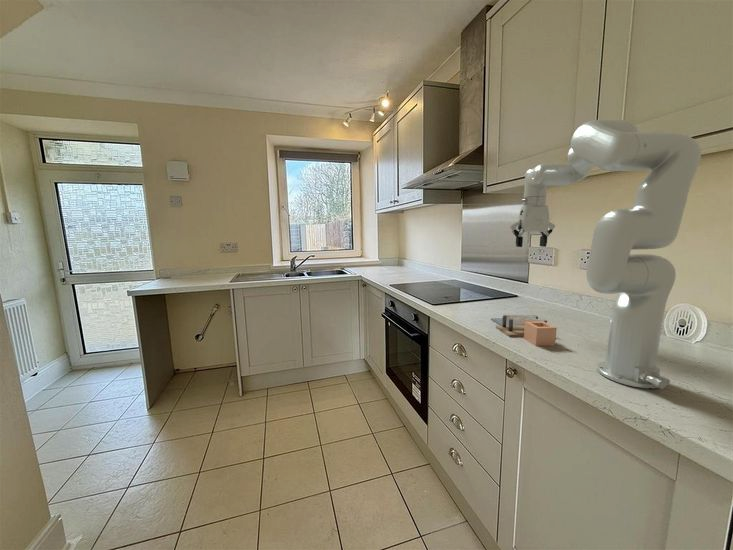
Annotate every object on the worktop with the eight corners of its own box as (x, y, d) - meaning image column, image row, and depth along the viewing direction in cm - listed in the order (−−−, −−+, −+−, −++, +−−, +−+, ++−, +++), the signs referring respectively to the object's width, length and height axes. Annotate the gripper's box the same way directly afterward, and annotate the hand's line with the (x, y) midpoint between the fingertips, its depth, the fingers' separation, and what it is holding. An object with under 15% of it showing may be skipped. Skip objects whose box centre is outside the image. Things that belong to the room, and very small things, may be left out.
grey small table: (546, 332, 104) (548, 320, 104) (513, 333, 104) (514, 321, 103) (532, 325, 113) (533, 313, 112) (501, 326, 112) (502, 314, 111)
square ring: (555, 345, 95) (556, 327, 95) (535, 345, 95) (537, 328, 94) (542, 337, 102) (543, 321, 101) (523, 338, 102) (525, 321, 101)
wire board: (553, 335, 104) (553, 333, 104) (509, 336, 103) (509, 334, 103) (535, 326, 114) (535, 324, 114) (495, 327, 113) (495, 325, 113)
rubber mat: (529, 325, 115) (529, 324, 115) (501, 326, 114) (502, 325, 114) (516, 319, 124) (516, 317, 123) (491, 319, 123) (491, 318, 123)
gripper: (518, 201, 108) (514, 247, 111) (562, 201, 109) (558, 246, 112) (507, 203, 116) (504, 246, 118) (549, 203, 116) (545, 245, 119)
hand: (531, 246), depth 115 cm, fingers open, 9 cm apart
